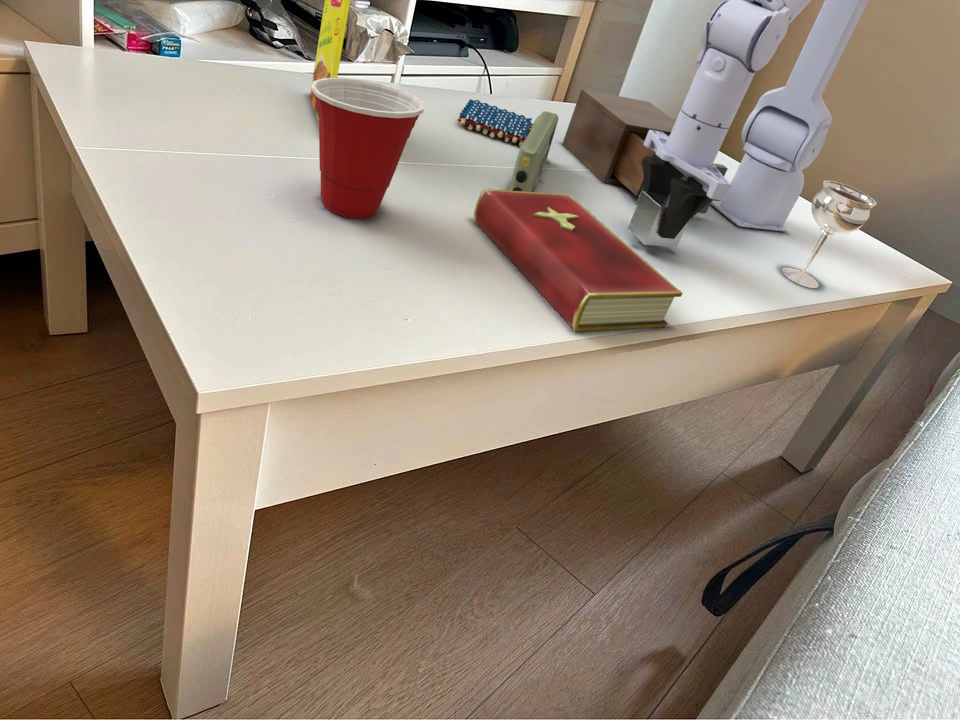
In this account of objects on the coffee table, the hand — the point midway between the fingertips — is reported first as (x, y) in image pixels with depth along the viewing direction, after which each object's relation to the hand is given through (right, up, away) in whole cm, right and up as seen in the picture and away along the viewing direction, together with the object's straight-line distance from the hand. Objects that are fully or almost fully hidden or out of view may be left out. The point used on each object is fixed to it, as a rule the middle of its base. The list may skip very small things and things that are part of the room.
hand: (656, 227), depth 92 cm
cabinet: (-1, +13, +24) cm, 27 cm away
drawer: (+4, +7, +15) cm, 17 cm away
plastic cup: (-35, 0, -13) cm, 37 cm away
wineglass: (+20, -5, +7) cm, 22 cm away
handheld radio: (-16, +6, +7) cm, 18 cm away
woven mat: (-19, +19, +23) cm, 35 cm away
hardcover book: (-12, -7, -11) cm, 18 cm away
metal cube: (0, -1, +1) cm, 1 cm away
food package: (-42, +15, +6) cm, 45 cm away
